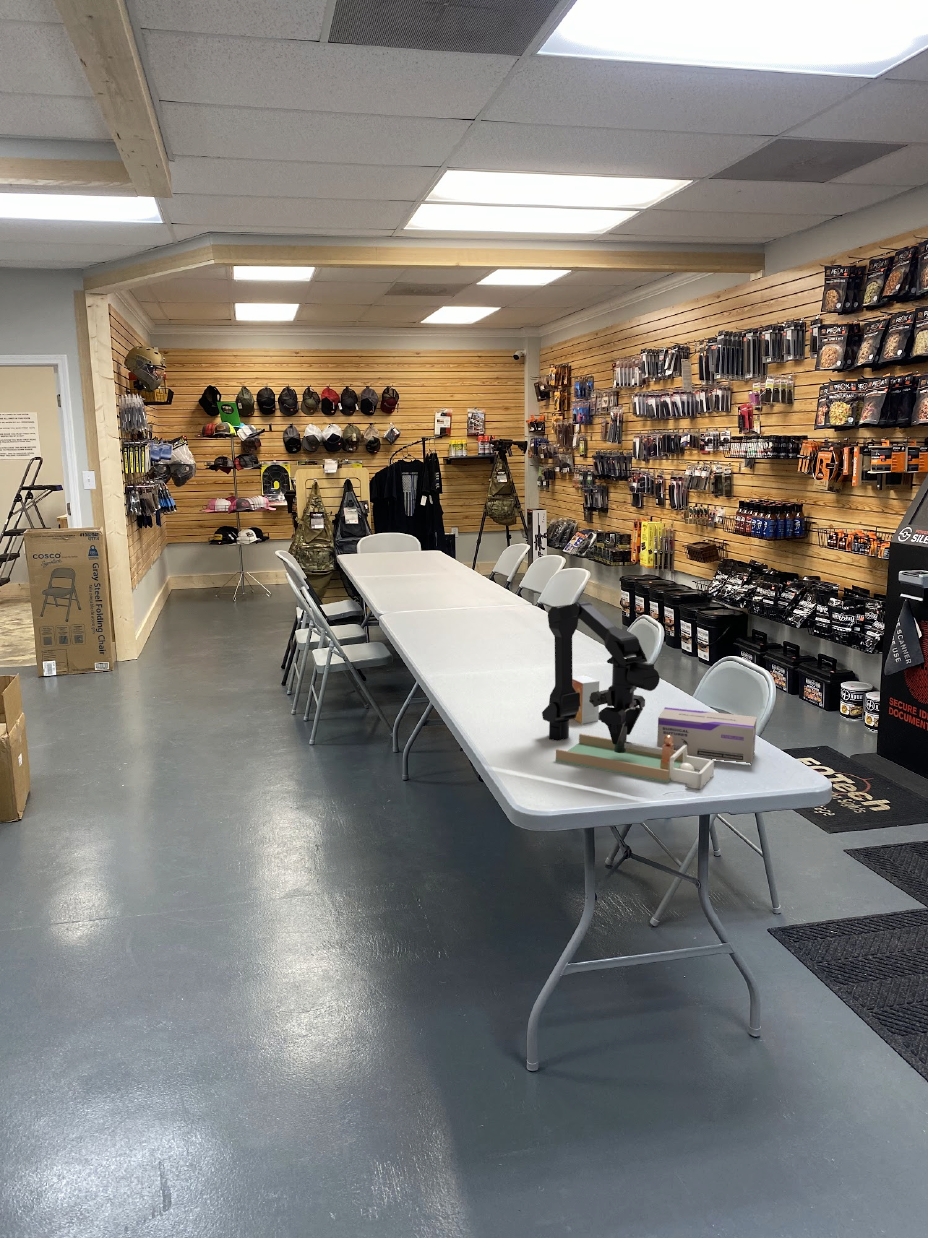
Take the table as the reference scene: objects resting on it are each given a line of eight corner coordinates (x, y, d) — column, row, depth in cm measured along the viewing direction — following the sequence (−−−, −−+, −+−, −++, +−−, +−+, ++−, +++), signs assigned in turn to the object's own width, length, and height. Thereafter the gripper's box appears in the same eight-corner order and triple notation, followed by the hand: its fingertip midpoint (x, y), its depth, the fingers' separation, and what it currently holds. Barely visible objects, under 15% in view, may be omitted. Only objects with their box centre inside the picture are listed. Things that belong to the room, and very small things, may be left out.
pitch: (580, 747, 251) (580, 733, 250) (687, 767, 235) (688, 752, 235) (555, 764, 238) (555, 750, 237) (667, 786, 222) (668, 771, 221)
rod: (617, 754, 239) (618, 722, 238) (675, 765, 231) (676, 732, 230) (610, 760, 235) (611, 727, 233) (668, 771, 227) (670, 737, 225)
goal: (683, 769, 234) (684, 744, 232) (713, 775, 230) (714, 749, 228) (668, 783, 224) (670, 757, 223) (700, 789, 220) (701, 763, 219)
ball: (692, 778, 229) (678, 771, 230) (698, 765, 227) (684, 758, 229) (688, 783, 225) (673, 775, 227) (693, 770, 224) (679, 762, 226)
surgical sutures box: (656, 754, 246) (658, 717, 244) (663, 742, 255) (665, 707, 253) (750, 766, 236) (753, 728, 234) (754, 754, 246) (756, 717, 244)
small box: (567, 717, 280) (568, 676, 277) (584, 714, 282) (585, 674, 280) (581, 724, 272) (582, 683, 270) (599, 721, 275) (600, 680, 272)
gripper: (607, 671, 244) (606, 725, 247) (580, 686, 229) (579, 744, 231) (646, 676, 239) (644, 731, 241) (621, 692, 223) (619, 751, 226)
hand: (621, 739), depth 235 cm, fingers open, 9 cm apart
